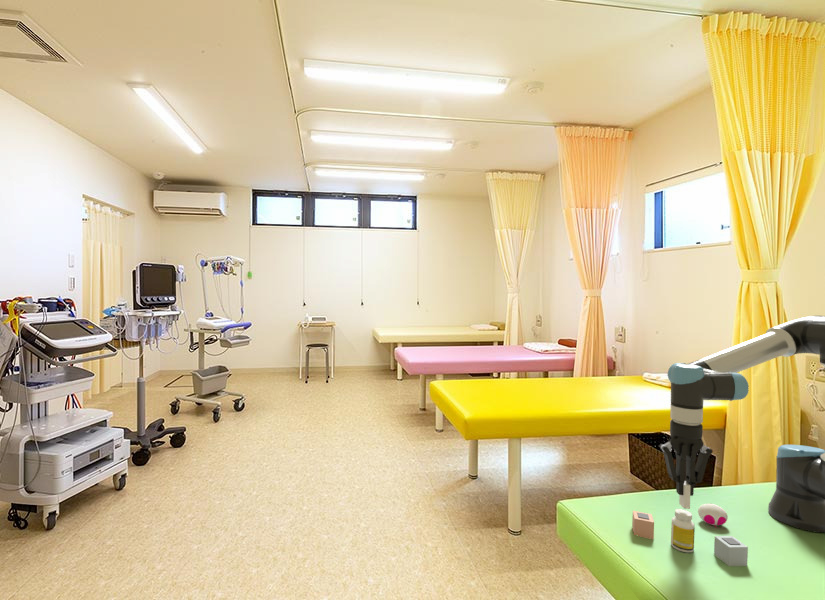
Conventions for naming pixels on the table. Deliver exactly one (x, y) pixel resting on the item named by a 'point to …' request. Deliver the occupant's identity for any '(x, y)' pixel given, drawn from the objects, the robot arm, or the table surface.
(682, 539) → the supplement bottle
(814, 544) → the table surface
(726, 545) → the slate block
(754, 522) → the table surface
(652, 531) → the terracotta block
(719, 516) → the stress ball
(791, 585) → the table surface
